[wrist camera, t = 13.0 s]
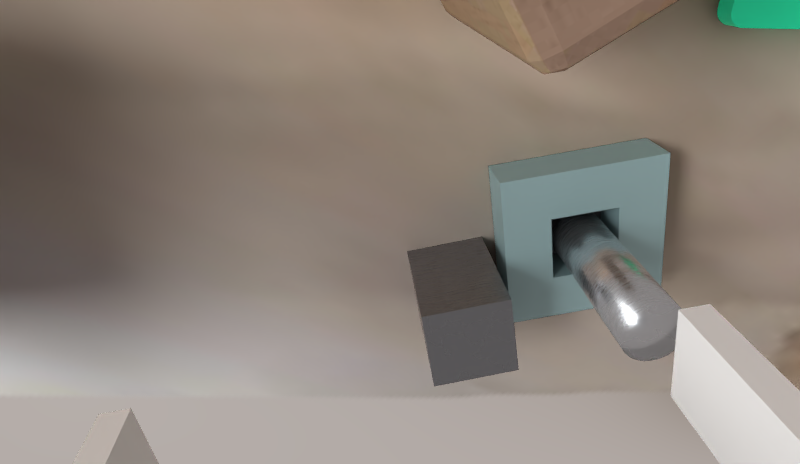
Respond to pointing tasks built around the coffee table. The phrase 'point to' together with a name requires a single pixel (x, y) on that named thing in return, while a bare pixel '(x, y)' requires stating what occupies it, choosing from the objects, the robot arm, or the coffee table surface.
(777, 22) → the camera mount
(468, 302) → the square bit
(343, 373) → the coffee table surface
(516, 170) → the socket plate
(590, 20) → the wooden block
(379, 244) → the coffee table surface
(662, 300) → the cylinder
